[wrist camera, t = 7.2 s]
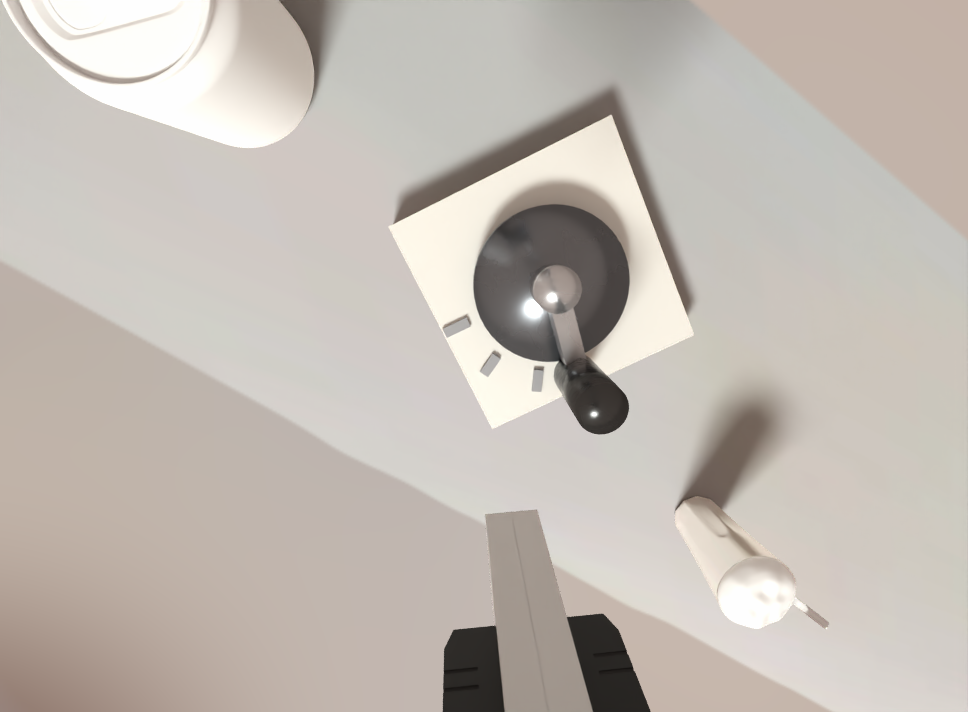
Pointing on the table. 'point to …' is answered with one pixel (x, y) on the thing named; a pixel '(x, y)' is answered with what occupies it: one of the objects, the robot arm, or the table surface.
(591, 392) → the dial
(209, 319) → the table surface
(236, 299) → the table surface
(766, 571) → the milkshake
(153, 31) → the beverage can
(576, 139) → the dial board
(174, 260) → the table surface
